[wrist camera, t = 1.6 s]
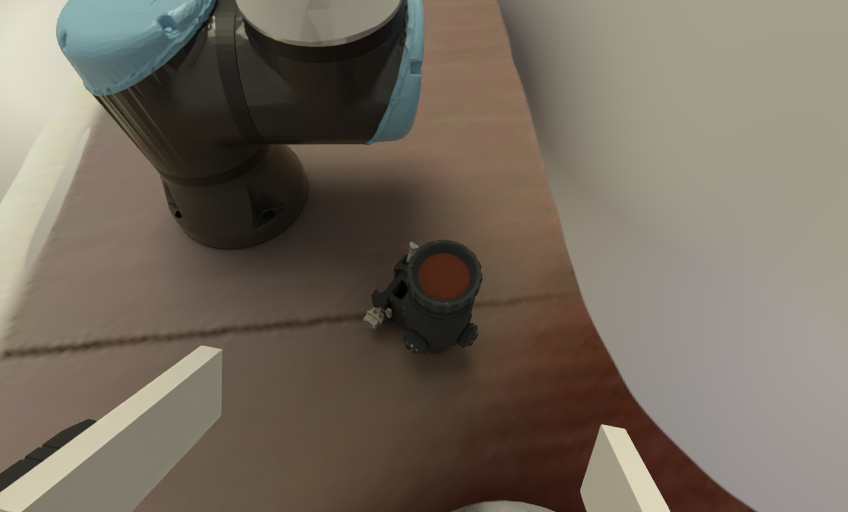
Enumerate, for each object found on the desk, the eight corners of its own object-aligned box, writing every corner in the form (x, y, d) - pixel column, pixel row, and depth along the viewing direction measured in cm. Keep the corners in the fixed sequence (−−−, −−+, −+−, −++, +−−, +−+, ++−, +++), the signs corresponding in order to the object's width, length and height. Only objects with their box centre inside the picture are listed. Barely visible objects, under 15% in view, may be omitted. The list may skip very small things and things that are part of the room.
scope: (410, 192, 32) (521, 258, 29) (411, 271, 44) (489, 323, 41) (342, 266, 29) (460, 347, 26) (362, 329, 41) (444, 390, 38)
